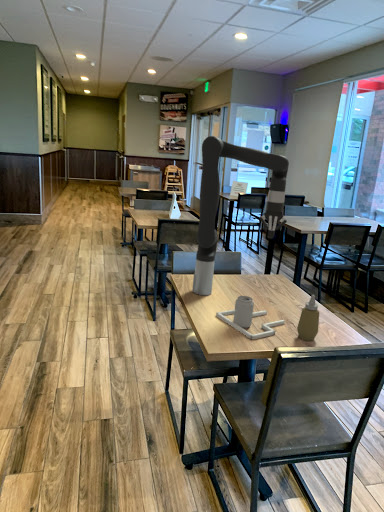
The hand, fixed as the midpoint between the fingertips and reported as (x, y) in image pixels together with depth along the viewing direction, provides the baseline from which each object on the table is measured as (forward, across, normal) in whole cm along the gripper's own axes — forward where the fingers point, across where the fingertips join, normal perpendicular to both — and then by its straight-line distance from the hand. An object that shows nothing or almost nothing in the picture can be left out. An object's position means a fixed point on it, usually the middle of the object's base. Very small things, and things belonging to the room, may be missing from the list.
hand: (270, 238), depth 180 cm
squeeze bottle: (+32, +20, -32) cm, 50 cm away
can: (+32, -6, -31) cm, 45 cm away
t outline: (+32, -1, -26) cm, 41 cm away
